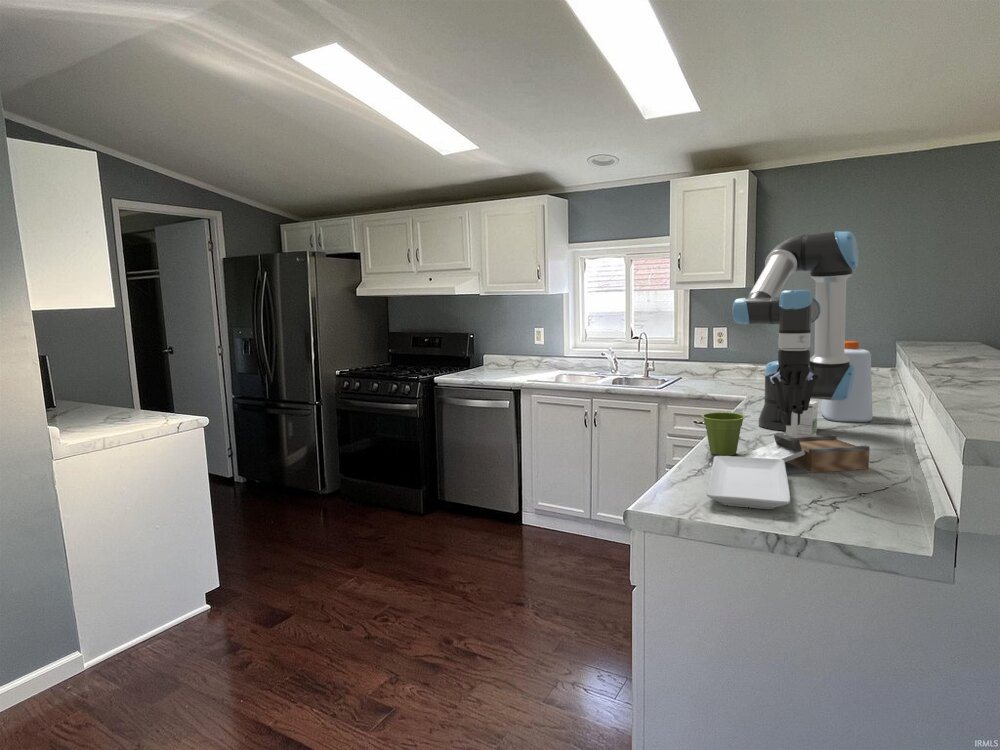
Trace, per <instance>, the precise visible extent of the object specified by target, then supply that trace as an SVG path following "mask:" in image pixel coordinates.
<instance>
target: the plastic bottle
mask: <svg viewBox="0 0 1000 750" xmlns="http://www.w3.org/2000/svg"><path fill="white" fill-rule="evenodd" d="M859 345H860V343H859V341H854V340H845V350H844V354H845V356H846V357H848V358H849V359H850V365H853V366H855V375H854V381H853V385H852V389H851V392H850V395H849V397H848V398H847V399H846V400H833V401H831V400H824V399H821V405H820V415H822V416H823V417H824V418H825V419H826V420H828V421H831V422H841V423H844V422H846V423H868V422H870V421H872V420H873V415H874V414H873V388H872V387H873V386H872V385H873V384H872V380H873V379H872V354H871V352H870V351H869V350H867V349H863V348H859V347H860V346H859Z"/></svg>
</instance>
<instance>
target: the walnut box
mask: <svg viewBox="0 0 1000 750" xmlns="http://www.w3.org/2000/svg"><path fill="white" fill-rule="evenodd" d="M795 439H798V440H799V441H800V445H801V449H802V450H804V452H805V455H802V456H800V457H797V458H795V459H792V460H790V461H787V462H789V463H792V464H794V465H796V466H798V467H800V468H803V469H805V470H807V471H808V472H809V473H813V474H815V473H814V472H816V473H828V472H843V471H857V470H856V469H861V470H869V467H870V446H869V445H855V444H852V443H849V442H847V441H843V440H840V439H838V438H837V435H836V434H821V435H816V436H802V437H797V438H795Z"/></svg>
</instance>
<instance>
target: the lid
mask: <svg viewBox="0 0 1000 750" xmlns="http://www.w3.org/2000/svg"><path fill="white" fill-rule="evenodd" d="M773 438H774V440H775V441H774V442H772V443H769V444H766V445H765V446H762V447H761V446H760V447H759V448H756V449H753V450H751V451H748V452H747V453H743V454H741V455H738V456H737V457H751V458H767V459H781V460H784V462H787V461H790V460H792V459H795V458H797V457H800V456H802V455H805V452H804V450H802V449H801V445H800V441H799V440H798V439H795V438H792V437H789V436H787V435H786V434H784V433H781V432H777V433H774V434H773Z"/></svg>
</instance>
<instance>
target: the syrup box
mask: <svg viewBox="0 0 1000 750" xmlns="http://www.w3.org/2000/svg"><path fill="white" fill-rule="evenodd" d="M818 408H819V402H818V401H815V400H811V399H810V403H809V407H808V410H806V411H803V413H802V414H800V424H799V425H797V437H802V436H817V431H818V430H817V429H818V427H817V426H818V413H819V411H818Z"/></svg>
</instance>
